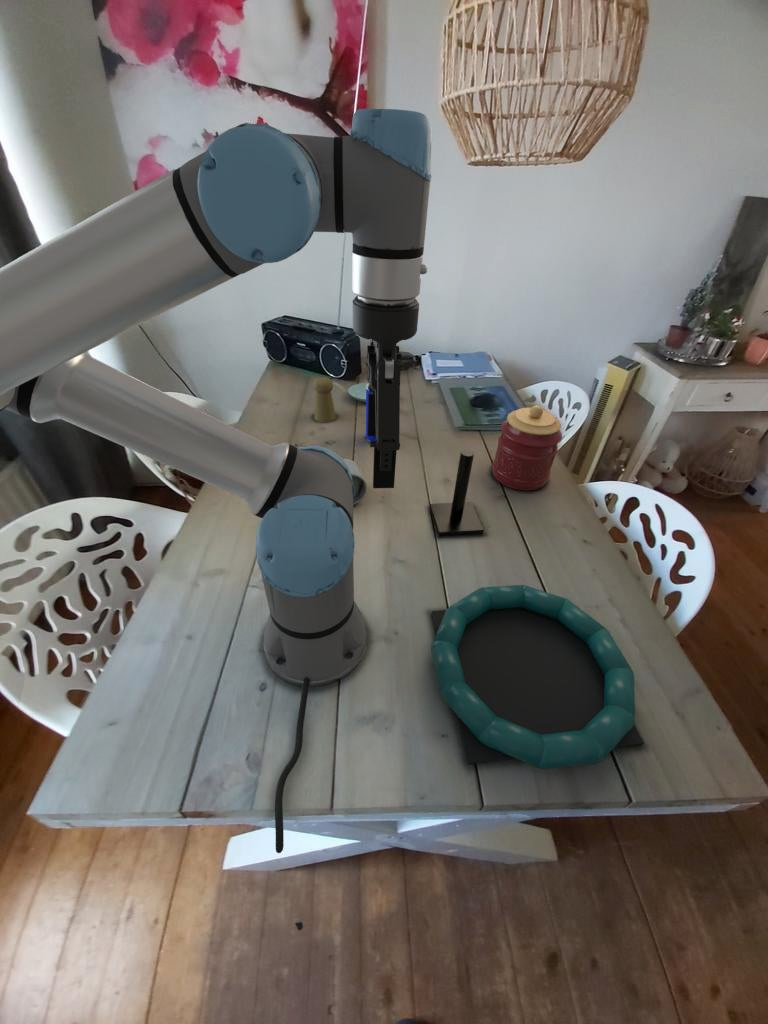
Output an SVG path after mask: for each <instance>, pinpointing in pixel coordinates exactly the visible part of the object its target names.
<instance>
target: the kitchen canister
mask: <svg viewBox="0 0 768 1024" xmlns="http://www.w3.org/2000/svg"><path fill="white" fill-rule="evenodd" d="M561 428H562V423H561V422H560V420H559V419H558V418H557V417H556V416H555V415H554V414H553V413H551V412H549V411H548V410H545V409H544V408H543V407H542V406H541V405H539V404H536V405H533V406H532V407H522V408H519V409H516V410H513V411H511V412H509V413H508V414H507V417H506V420H504V421H503V422H502V423H501V426H500V430H501V434H500V435H499V437H498V440H497V447H496V451H495V455H494V458H493V461H492V466H491V468H492V475H493V477H494V479H496V480H497V481H498V482H499V483H500V484H501V485H503V486H506V487H507V488H510V489H513V490H518V491H535V490H539V489H541V488H543V487H545V485H546V483H547V482H548V480H549V479H550V476H551V470H552V467H553V463H554V460H555V458H556V455H557V454H558V444H559V443H560V442H561V441H562V439H563V434H562V431H561Z"/></svg>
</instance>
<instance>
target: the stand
mask: <svg viewBox="0 0 768 1024" xmlns="http://www.w3.org/2000/svg"><path fill="white" fill-rule="evenodd" d="M474 457H475V452H474V451H473V450H471V449H462V450H461V451H460V454H459V461H458V467H457V473H456V479H455V484H454V492H453V496H452V501H451V502H444V503H442V502H441V503H440V502H439V503H429V510H430V514H431V517H432V520H433V524H434V527H435V530H436V533H437V537H439V538H442V537H443V538H444V537H457V536H458V537H460V536H477V535H478V536H479V535H484V531H485V529H484V527H483V524H482V523H481V520H480V518H479V515H478V512H477V511H476V508H475V506H474V504H473V502H472V501H466V500H467V499H466V498H467V495H468V488H469V483H470V478H471V473H472V467H473V461H474Z"/></svg>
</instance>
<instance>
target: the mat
mask: <svg viewBox="0 0 768 1024" xmlns="http://www.w3.org/2000/svg"><path fill="white" fill-rule="evenodd" d="M446 610H447V609H442V610H441V609H439V610H431V617H432V622H433V625H434V629H435V633H436V634H437V631H438V629H439V626H440V624H441V622H442V619H443V617H444V614H445V612H446ZM436 634H435V635H436ZM457 652H458V655H459V659H460V663H461V666H462V670H463V674H464V677H465V681H466V684H467V685H468V686H469V687H470V688H471V689H472V690H473V691H474V693H475V694H476V695H477V696H478V697H479V698H480V699H481V700H482V701H483V702H484V703H485V704H486V705H487V707H488V708H489V709H490V710H491V711H492V712H493V713H494V714H495V715H496V716H497V717H500V718H502V719H504V720H507V721H509V722H512V723H514V724H516V725H519V726H521V727H524V728H526V729H528V730H531V731H533V732H536V733H538V734H541V735H542V734H551V733H561V732H570V731H580V730H582V729H583V728H584V727H585V726H586V725H587V724H588V723H589V722H590V721H591V720H592V719H593V718H594V717H595V716H596V715H597V714H598V713H599V712H600V711H601V710H602V709H603V707H604V685H605V676H604V674H603V672H602V670H601V668H600V666H599V665H598V663H597V661H596V659H595V657H594V655H593V654H592V652H591V650H590V648H589V646H588V644H587V643H585V642H584V641H583V640H582V639H581V638H579V637H578V636H577V635H576V634H574V633H573V632H572V631H571V630H569V629H568V628H567V627H566V626H564V625H563V624H562V623H561V622H559V621H558V620H557V619H554V618H551V617H548V616H545V615H542V614H539V613H537V612H534V611H531V610H528V609H525V608H522V607H520V608H506V609H492V610H488V611H486V612H485V613H483V614H482V615H480V616H479V617H477V618H476V619H474V620H473V621H471V622H470V623H468V624H467V625H466V627H465V629H464V632H463V635H462V638H461V641H460V644H459V647H458V649H457ZM455 715H456V720H457V724H458V728H459V732H460V736H461V740H462V745H463V748H464V749H463V750H464V753H465V757H466V760H467V764H468V765H475V764H476V765H478V764H487V763H494V762H502V761H503V762H505V761H512V760H513V761H514V760H518V759H517V758H514V757H512V756H510V755H507V754H505V753H503V752H501V751H498V750H496V749H494V748H491V747H489V746H487V745H485V744H483V743H481V742H480V741H479V740H478V739H477V737H476V736H475V735H474V734H473V733H472V732H471V730H470V729H469V728H468V727H467V726H466V725H465V723H464V722H463V721H462V720H461V719H460V718H459V717H458V715H457V714H456V713H455ZM644 744H645V742H644V740H643V738H642V736H641V734H640V733H639V731H638V729H637V727H636V725H635V724H634V725H633V727H632V728H631V729H630V730H629V732H628V733H627V734H626V735H625V736H624V737H623V738H622V739H621V740H620V741H619V743H618V744H617V745H616V746H615V747H614V748H613V749H619V748H621V749H622V748H629V747H638V746H643V745H644Z"/></svg>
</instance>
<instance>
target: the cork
mask: <svg viewBox="0 0 768 1024" xmlns="http://www.w3.org/2000/svg"><path fill="white" fill-rule="evenodd" d="M312 385H313V386H312V387H313V390H314V391H315V399H314V416H313V418H314V420H315V421H317V422H319V423H330V422H333V421H335V420H336V418H337V416H336V411H335V405H334V400H333V395H332V390H333V389H334V383H333V381H332V379H331V378H328V377H324V376H323V377H317V378H316V379H314V381H313V384H312Z"/></svg>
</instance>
